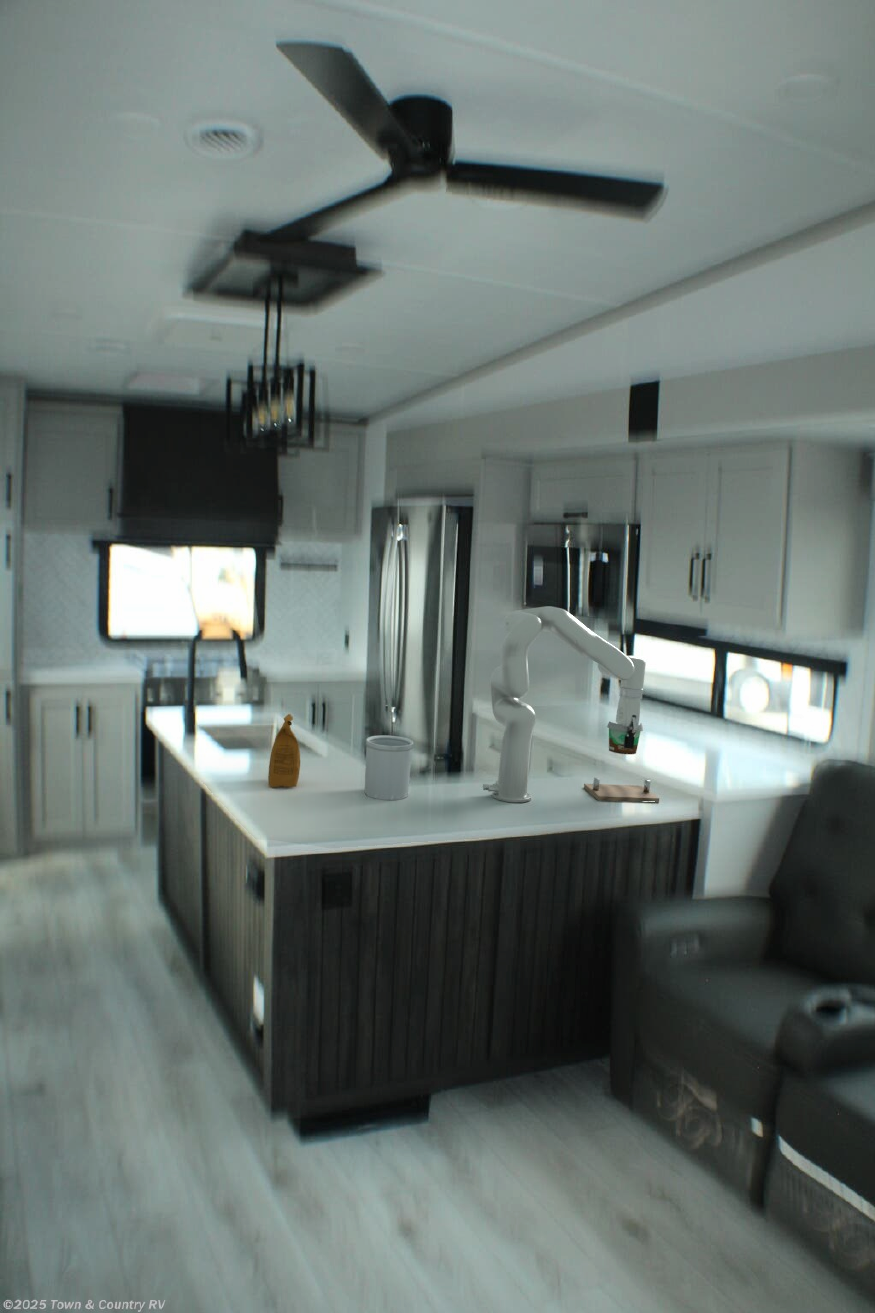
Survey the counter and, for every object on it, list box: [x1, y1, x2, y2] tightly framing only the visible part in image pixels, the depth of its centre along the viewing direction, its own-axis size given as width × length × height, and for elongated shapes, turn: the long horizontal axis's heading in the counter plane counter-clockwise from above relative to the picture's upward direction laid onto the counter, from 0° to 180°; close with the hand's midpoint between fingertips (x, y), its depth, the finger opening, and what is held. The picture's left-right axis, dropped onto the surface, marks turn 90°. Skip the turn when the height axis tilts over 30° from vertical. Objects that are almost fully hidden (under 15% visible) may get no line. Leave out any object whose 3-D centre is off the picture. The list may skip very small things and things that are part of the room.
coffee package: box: [267, 713, 301, 789], centre depth 316 cm, size 10×12×22 cm
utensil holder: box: [364, 734, 414, 801], centre depth 314 cm, size 15×15×18 cm
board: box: [583, 777, 660, 803], centre depth 337 cm, size 21×16×6 cm
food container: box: [606, 721, 644, 755], centre depth 334 cm, size 12×6×10 cm, turn 99°
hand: (625, 745), depth 335 cm, fingers closed on food container, 5 cm apart
